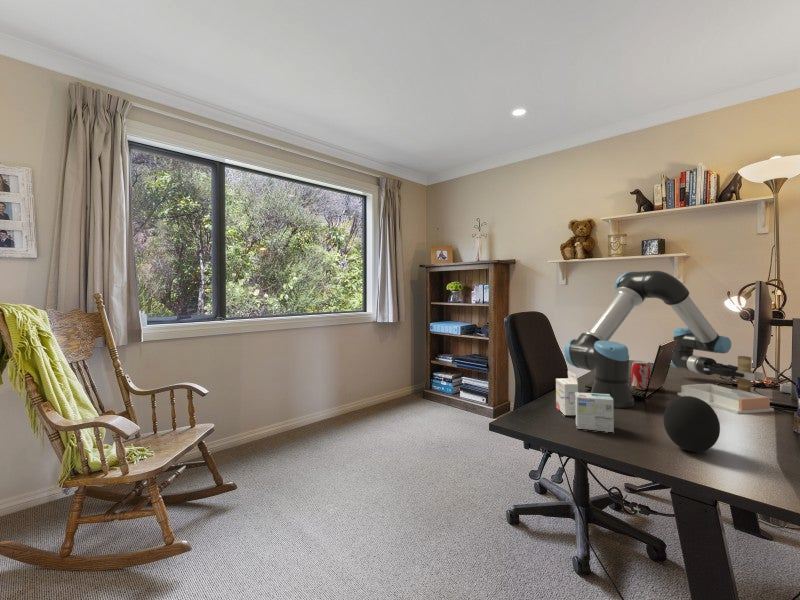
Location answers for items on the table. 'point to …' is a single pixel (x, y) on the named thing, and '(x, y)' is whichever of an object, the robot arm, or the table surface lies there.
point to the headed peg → (744, 366)
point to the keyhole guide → (728, 398)
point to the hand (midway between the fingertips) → (758, 377)
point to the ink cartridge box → (566, 394)
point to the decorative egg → (691, 424)
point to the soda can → (640, 373)
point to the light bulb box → (594, 411)
